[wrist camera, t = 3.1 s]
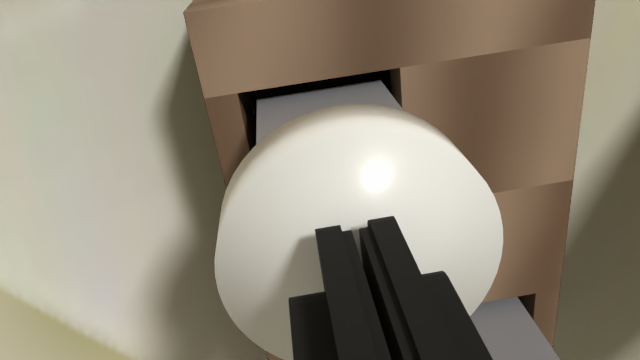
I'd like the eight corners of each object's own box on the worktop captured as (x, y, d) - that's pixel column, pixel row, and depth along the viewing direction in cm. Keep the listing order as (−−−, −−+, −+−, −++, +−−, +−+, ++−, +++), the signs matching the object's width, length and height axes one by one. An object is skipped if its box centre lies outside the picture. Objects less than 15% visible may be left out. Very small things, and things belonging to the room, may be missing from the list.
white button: (415, 36, 16) (510, 106, 10) (422, 210, 19) (497, 346, 13) (210, 68, 15) (180, 159, 10) (250, 239, 18) (246, 390, 12)
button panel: (521, -57, 19) (601, -51, 14) (500, 335, 28) (545, 412, 24) (201, -10, 18) (183, 12, 14) (287, 373, 28) (292, 458, 23)
